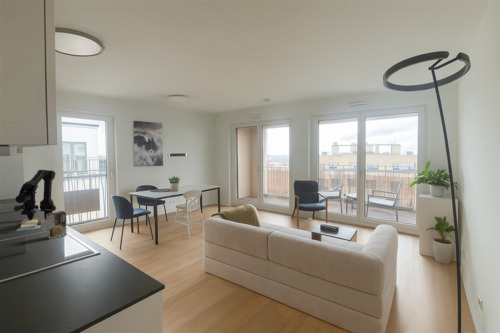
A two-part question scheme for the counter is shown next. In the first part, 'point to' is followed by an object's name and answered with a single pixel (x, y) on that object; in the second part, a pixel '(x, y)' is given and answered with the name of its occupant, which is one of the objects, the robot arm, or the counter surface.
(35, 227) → the mat
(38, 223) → the plate
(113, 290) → the counter surface
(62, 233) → the coffee box
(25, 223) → the tile
